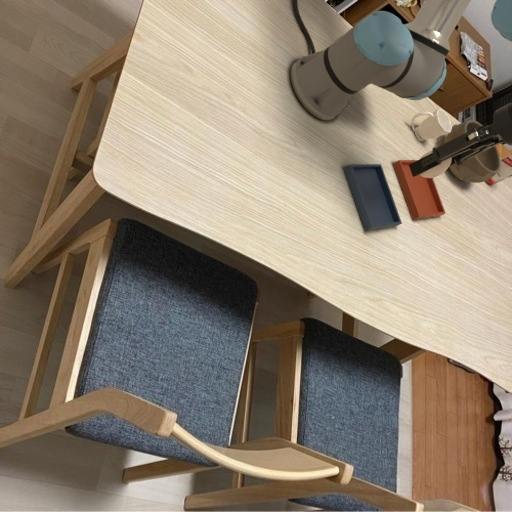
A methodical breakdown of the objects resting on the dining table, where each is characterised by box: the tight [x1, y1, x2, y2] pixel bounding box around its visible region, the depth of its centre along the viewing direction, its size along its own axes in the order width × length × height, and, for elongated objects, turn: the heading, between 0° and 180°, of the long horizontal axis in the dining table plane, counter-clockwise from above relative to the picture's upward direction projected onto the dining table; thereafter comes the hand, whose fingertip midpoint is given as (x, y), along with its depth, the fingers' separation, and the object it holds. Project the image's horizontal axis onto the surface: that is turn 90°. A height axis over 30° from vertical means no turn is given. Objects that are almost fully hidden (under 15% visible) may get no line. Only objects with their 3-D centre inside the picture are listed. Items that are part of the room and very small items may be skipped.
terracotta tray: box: [392, 159, 447, 221], centre depth 147 cm, size 15×13×2 cm
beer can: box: [485, 153, 512, 185], centre depth 172 cm, size 6×6×16 cm
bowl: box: [443, 119, 501, 184], centre depth 163 cm, size 17×18×10 cm
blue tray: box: [343, 163, 403, 232], centre depth 132 cm, size 15×12×2 cm
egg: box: [419, 150, 452, 179], centre depth 121 cm, size 6×6×8 cm
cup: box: [411, 108, 453, 142], centre depth 154 cm, size 7×10×8 cm
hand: (419, 170), depth 124 cm, fingers closed on egg, 5 cm apart
